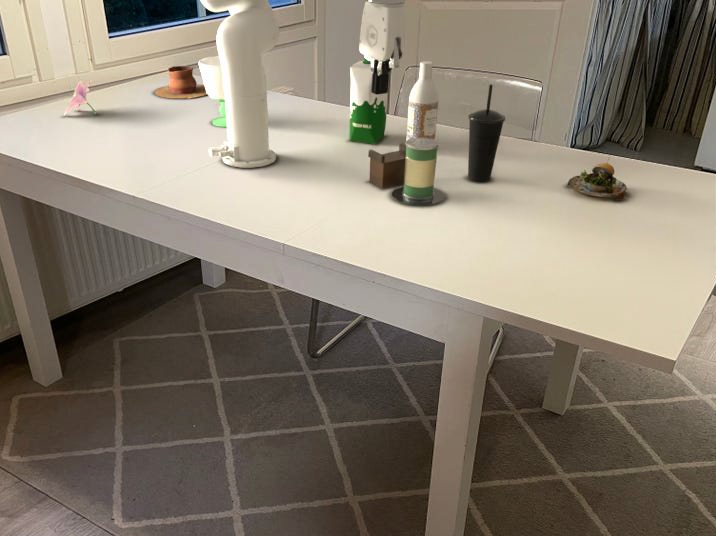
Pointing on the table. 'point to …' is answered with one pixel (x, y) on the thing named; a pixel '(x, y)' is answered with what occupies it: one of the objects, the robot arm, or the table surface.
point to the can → (420, 168)
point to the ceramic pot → (181, 84)
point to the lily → (79, 97)
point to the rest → (387, 167)
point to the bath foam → (423, 105)
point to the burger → (599, 182)
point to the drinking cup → (483, 141)
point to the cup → (214, 84)
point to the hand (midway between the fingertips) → (379, 92)
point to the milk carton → (366, 106)
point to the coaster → (401, 199)
